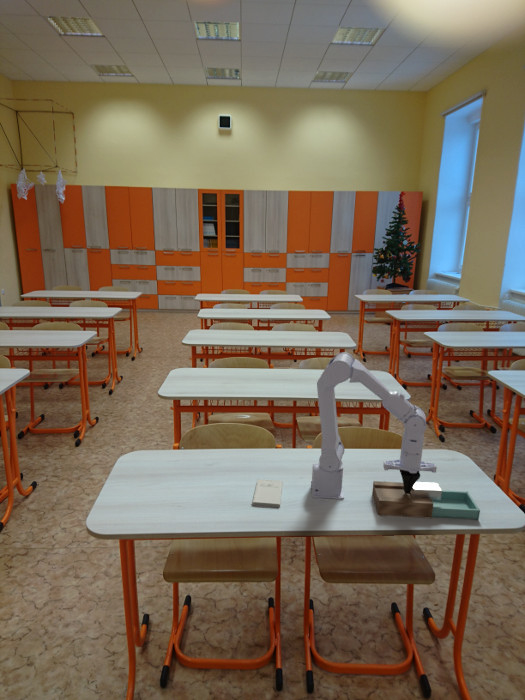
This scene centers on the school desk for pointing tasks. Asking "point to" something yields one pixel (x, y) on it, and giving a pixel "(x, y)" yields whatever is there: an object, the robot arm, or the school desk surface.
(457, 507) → the tray
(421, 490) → the grey square block
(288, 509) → the school desk surface
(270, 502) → the external hard drive
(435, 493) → the light grey block
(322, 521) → the school desk surface
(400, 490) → the channel block
